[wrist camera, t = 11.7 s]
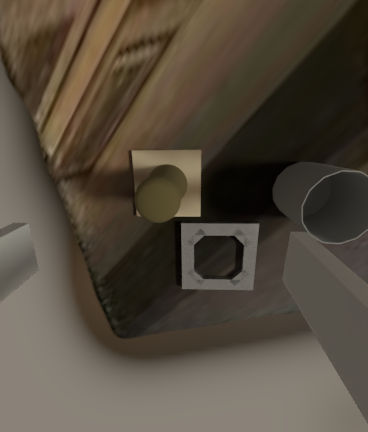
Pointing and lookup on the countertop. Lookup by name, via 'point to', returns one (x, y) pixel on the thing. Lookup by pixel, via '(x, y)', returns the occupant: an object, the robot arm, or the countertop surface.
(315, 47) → the countertop surface
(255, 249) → the plate
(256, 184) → the countertop surface
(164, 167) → the pepper shaker
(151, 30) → the countertop surface
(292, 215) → the cup
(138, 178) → the coaster
